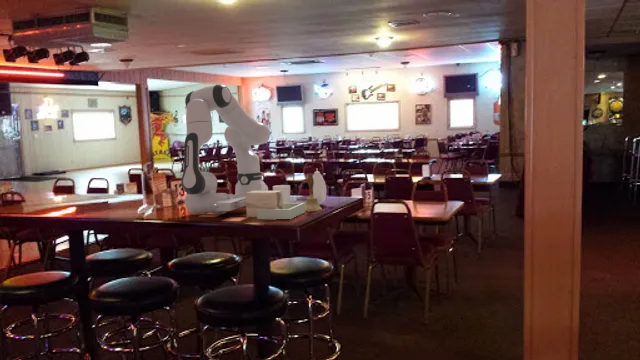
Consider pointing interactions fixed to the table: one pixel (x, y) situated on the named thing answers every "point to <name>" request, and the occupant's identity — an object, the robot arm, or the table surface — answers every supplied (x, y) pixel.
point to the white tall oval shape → (319, 187)
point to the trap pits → (225, 219)
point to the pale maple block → (262, 201)
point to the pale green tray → (282, 211)
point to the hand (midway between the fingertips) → (250, 203)
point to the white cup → (283, 192)
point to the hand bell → (311, 197)
